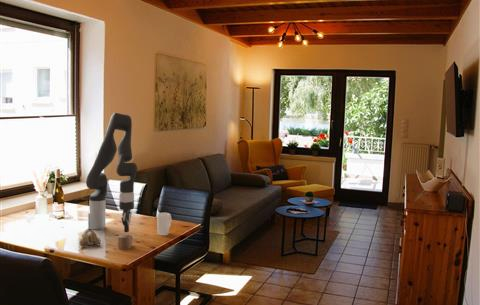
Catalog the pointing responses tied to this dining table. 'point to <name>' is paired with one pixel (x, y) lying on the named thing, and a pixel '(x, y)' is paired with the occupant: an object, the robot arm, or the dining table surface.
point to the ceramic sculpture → (89, 238)
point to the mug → (163, 223)
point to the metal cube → (125, 241)
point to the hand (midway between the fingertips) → (126, 231)
